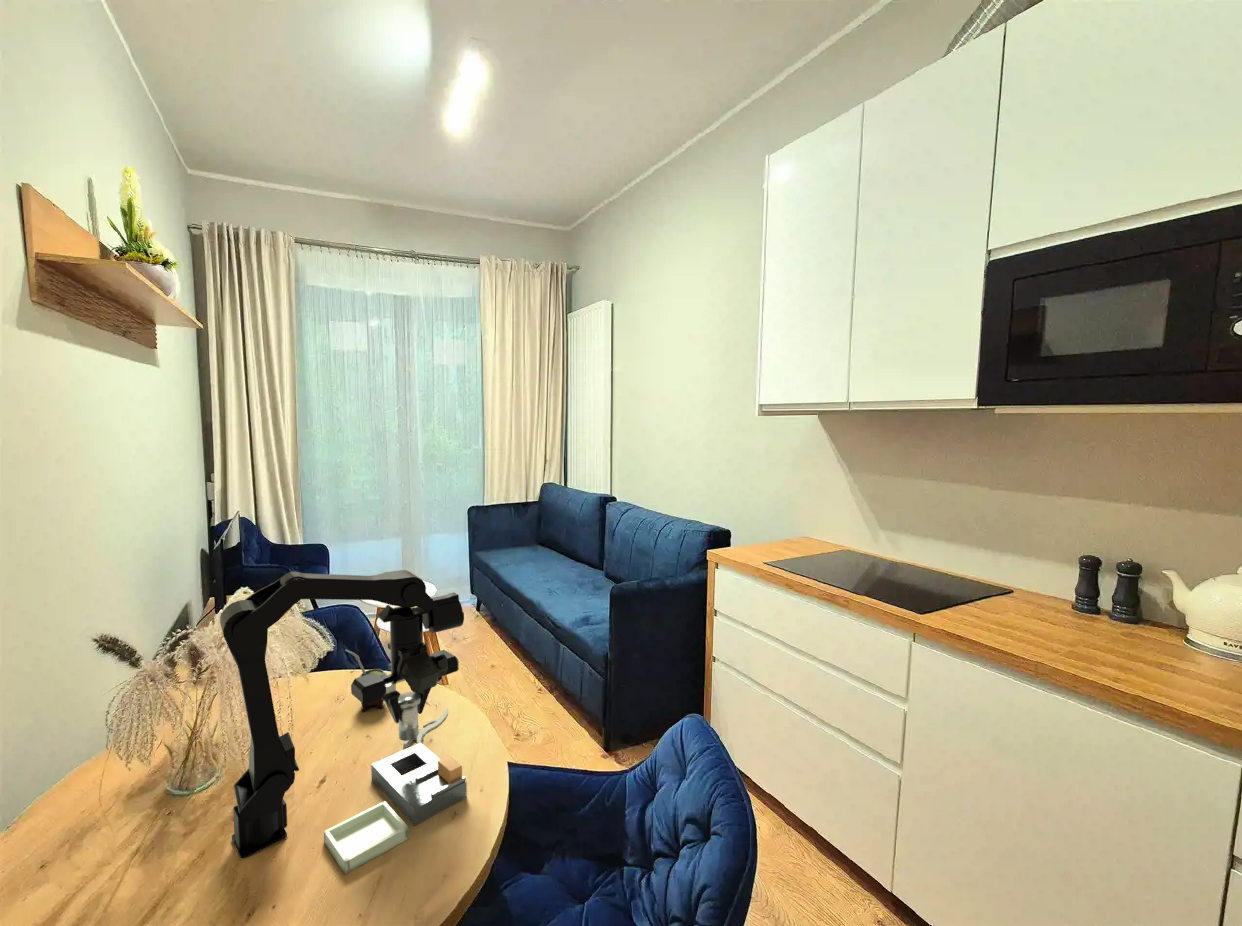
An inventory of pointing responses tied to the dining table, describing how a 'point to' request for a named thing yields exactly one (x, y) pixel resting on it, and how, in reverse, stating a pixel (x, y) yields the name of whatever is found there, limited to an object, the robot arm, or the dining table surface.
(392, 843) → the tray
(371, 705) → the mate gourd
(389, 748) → the dining table surface
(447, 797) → the metallic box with opening
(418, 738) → the pliers
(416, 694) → the pin
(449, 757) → the block
